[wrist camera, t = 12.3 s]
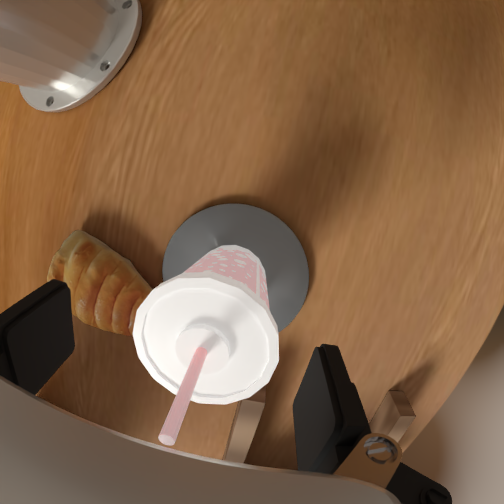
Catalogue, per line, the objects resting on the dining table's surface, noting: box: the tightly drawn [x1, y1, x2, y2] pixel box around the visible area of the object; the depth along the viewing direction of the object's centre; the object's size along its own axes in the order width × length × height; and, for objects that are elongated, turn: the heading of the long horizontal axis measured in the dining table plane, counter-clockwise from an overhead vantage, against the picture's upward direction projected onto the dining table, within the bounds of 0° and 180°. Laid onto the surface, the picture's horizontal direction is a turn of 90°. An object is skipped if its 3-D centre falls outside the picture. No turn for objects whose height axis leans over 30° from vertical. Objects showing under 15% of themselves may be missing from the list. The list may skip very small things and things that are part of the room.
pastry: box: [47, 230, 153, 336], centre depth 20 cm, size 9×7×4 cm
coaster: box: [162, 203, 309, 332], centre depth 21 cm, size 10×10×1 cm
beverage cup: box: [133, 245, 279, 445], centre depth 14 cm, size 6×6×14 cm
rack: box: [222, 385, 416, 464], centre depth 20 cm, size 15×14×9 cm
